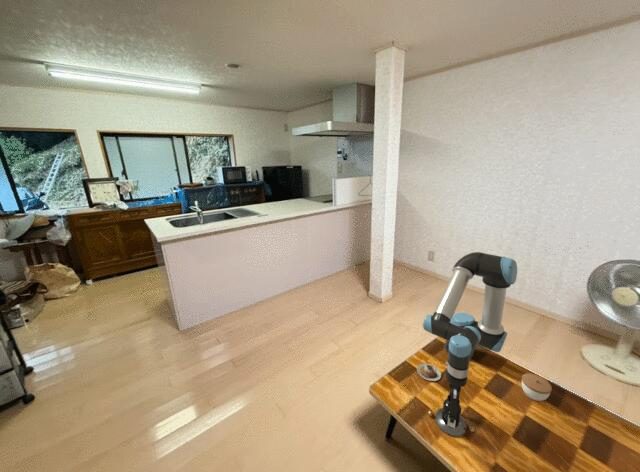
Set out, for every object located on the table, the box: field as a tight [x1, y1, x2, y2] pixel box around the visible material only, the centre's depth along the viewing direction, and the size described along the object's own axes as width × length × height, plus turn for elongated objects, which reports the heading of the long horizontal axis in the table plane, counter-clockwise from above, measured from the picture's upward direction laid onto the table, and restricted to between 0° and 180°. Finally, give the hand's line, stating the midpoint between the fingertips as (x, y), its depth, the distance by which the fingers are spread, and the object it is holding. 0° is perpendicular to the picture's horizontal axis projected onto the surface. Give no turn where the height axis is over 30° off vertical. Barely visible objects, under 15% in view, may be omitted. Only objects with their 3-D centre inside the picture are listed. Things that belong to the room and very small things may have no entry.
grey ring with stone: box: [416, 363, 442, 382], centre depth 137 cm, size 12×12×5 cm
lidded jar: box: [521, 372, 553, 402], centre depth 121 cm, size 11×11×9 cm
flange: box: [427, 407, 475, 438], centre depth 111 cm, size 12×18×2 cm, turn 61°
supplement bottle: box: [442, 394, 462, 428], centre depth 109 cm, size 7×7×12 cm
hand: (451, 411), depth 110 cm, fingers open, 13 cm apart
